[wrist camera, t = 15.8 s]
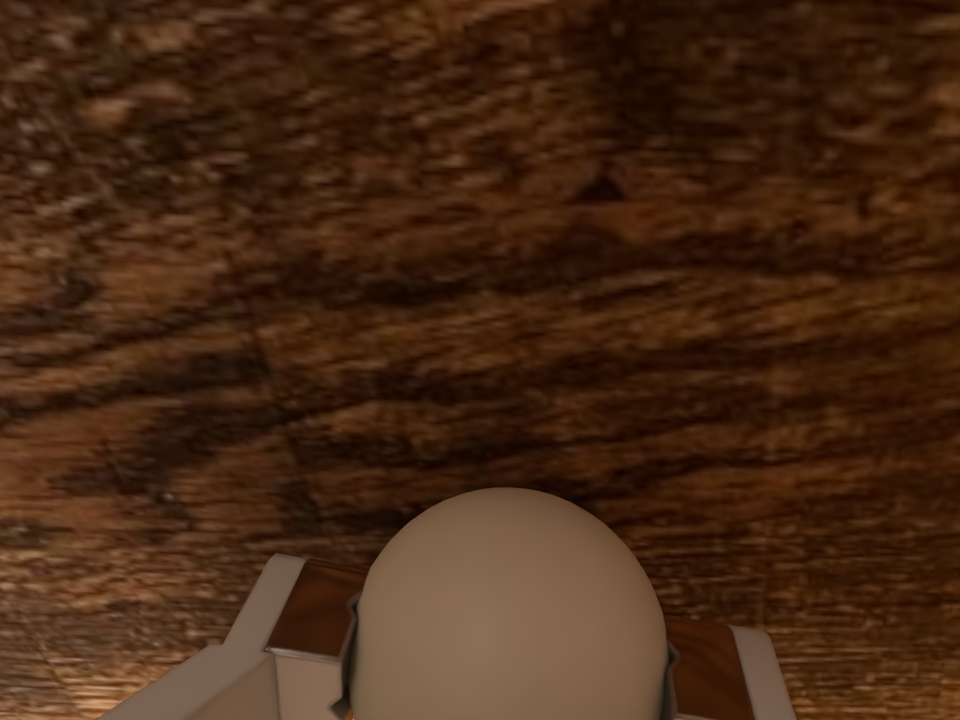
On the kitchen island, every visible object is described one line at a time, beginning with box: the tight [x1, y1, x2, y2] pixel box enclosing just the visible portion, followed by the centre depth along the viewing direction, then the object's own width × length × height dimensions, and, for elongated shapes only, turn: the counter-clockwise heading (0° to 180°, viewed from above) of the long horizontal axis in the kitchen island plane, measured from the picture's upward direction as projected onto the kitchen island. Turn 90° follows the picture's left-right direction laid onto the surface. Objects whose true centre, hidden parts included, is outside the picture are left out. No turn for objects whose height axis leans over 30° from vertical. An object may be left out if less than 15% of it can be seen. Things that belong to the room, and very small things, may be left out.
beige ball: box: [347, 487, 669, 720], centre depth 9 cm, size 4×4×4 cm
